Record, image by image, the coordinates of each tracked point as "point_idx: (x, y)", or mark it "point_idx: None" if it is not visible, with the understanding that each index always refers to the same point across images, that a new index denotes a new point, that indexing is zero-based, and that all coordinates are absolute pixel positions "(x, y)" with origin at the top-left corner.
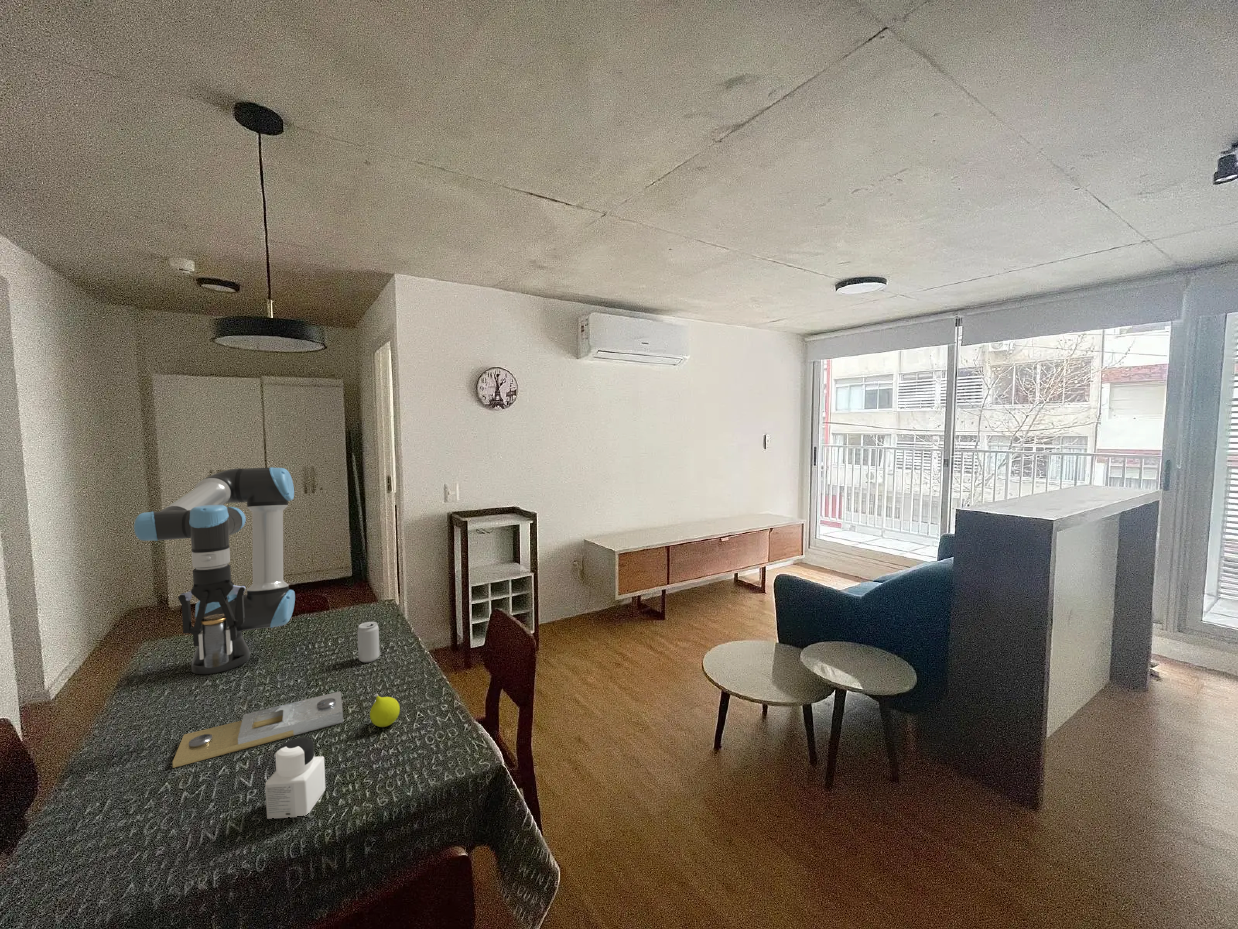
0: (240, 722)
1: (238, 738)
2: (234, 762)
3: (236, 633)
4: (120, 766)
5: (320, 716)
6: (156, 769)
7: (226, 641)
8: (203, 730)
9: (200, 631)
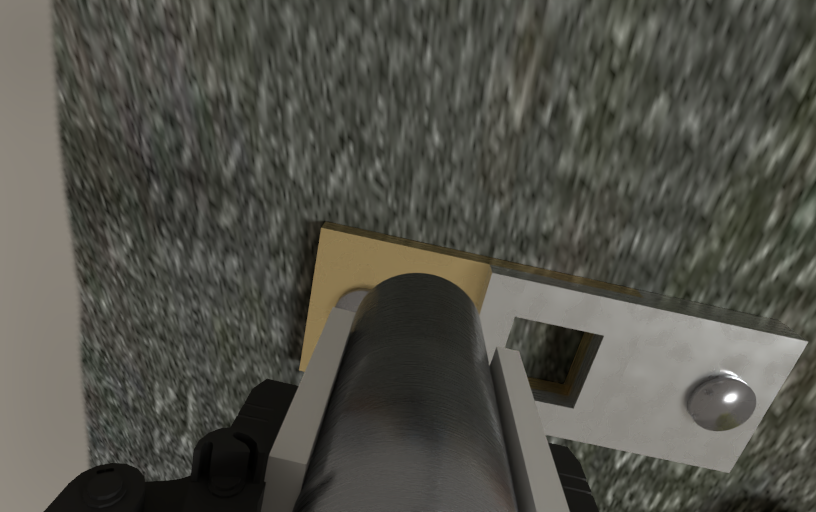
0: (477, 274)
1: None
2: None
3: (585, 497)
4: (179, 250)
5: (668, 457)
6: (268, 335)
7: None
8: (374, 244)
9: (263, 485)
